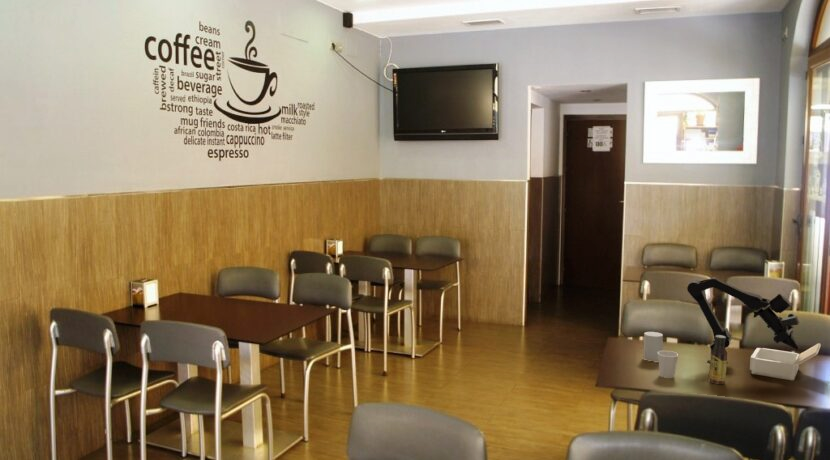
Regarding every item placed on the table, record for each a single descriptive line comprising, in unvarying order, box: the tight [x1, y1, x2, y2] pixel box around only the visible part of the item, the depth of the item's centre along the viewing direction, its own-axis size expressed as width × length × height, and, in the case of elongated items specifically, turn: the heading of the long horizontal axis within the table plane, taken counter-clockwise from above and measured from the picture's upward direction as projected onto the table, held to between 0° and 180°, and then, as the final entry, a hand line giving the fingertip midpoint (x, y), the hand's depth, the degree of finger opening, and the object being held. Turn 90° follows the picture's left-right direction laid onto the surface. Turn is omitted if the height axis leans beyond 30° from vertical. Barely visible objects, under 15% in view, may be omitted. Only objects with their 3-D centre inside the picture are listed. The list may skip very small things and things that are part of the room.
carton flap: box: [796, 342, 822, 366], centre depth 289 cm, size 9×17×1 cm
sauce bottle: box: [708, 335, 728, 385], centre depth 282 cm, size 6×6×20 cm
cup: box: [642, 331, 664, 361], centre depth 313 cm, size 8×8×12 cm
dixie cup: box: [658, 350, 679, 379], centre depth 290 cm, size 8×8×10 cm
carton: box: [749, 347, 801, 381], centre depth 297 cm, size 17×20×7 cm
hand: (798, 348), depth 291 cm, fingers closed
